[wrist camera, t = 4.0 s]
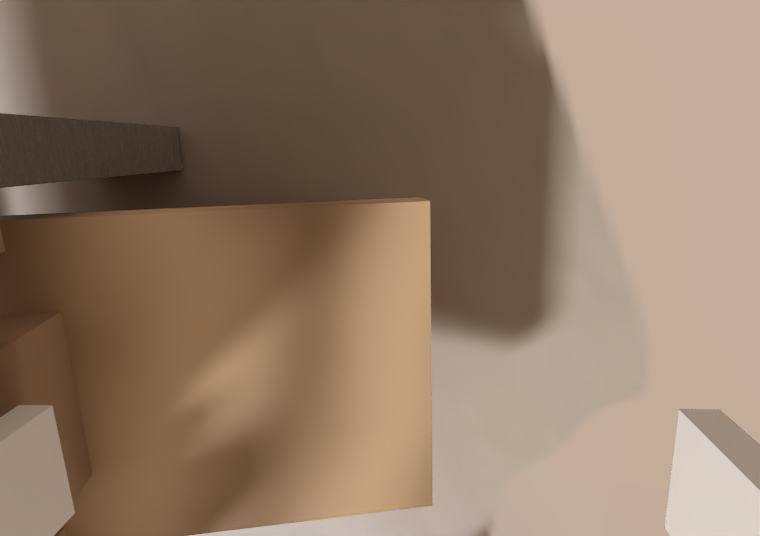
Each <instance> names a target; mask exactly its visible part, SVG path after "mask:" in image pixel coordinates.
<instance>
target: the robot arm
mask: <svg viewBox="0 0 760 536" xmlns="http://www.w3.org/2000/svg"><path fill="white" fill-rule="evenodd" d="M74 514H75V510H74V505H73V501H72V496H71V491H70V486H69V482H68V477H67V472H66V468H65V463H64V458H63V453H62V449H61V444H60V439H59V435H58V430H57V425H56V420H55V416H54V411H53V406H52V405H18V406H17V407H15V408H14V409H12V410H11V411H9V412H8V413H6V414H5V415H3V416H2V417H0V536H54V535H55V534H56V533H57V532H58V531H59V530H60V529H61V527H62V526H63V525H64V524H65V523H66V522H67V521H68V520H69V519H70V518H71V517H72V516H73V515H74ZM665 529H666V531H667V532H668V534H669V535H670V536H760V444H758V443H757V442H756V441H755V440H754V439H752V437H750V436H749V435H748V434H747V433H745V431H744V430H742V429H741V428H740V427H739V426H738V425H737V424H735V423H734V422H733V421H732V420H731V419H730V418H729V417H727V416H726V415H725V414H724V413H723V412H722V411H720V410H689V409H688V410H685V409H684V410H682V409H679V412H678V420H677V429H676V437H675V445H674V453H673V462H672V469H671V478H670V486H669V494H668V502H667V510H666V519H665Z"/></svg>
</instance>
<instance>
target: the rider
mask: <svg viewBox="0 0 760 536" xmlns="http://www.w3.org/2000/svg"><path fill="white" fill-rule="evenodd" d="M18 405H52V406H53V411H54V416H55V420H56V425H57V430H58V435H59V439H60V444H61V449H62V453H63V458H64V463H65V468H66V472H67V477H68V482H69V486H70V491H71V496H72V501H73V502H74V500H75V499H76V497H77V496H78V495H79V493H80V492H81V490H82V489H83V487H84V486H85V484H86V483H87V481H88V480H89V478H90V477H91V475H92V469H91V464H90V459H89V454H88V449H87V444H86V438H85V433H84V428H83V423H82V418H81V413H80V407H79V402H78V397H77V392H76V387H75V382H74V376H73V371H72V366H71V361H70V356H69V351H68V346H67V340H66V335H65V330H64V325H63V320H62V315H61V312H46V313H32V314H17V315H2V316H0V417H2V416H3V415H5V414H6V413H8V412H9V411H11V410H12V409H14V408H15V407H17V406H18Z"/></svg>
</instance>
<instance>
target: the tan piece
mask: <svg viewBox="0 0 760 536" xmlns="http://www.w3.org/2000/svg"><path fill="white" fill-rule="evenodd" d="M46 312H61V315H62V320H63V325H64V330H65V335H66V340H67V346H68V351H69V356H70V361H71V366H72V371H73V376H74V382H75V387H76V392H77V397H78V402H79V407H80V413H81V418H82V423H83V428H84V433H85V438H86V444H87V449H88V454H89V459H90V464H91V469H92V475H91V477H90V478H89V480H88V481H87V483H86V484H85V486H84V487H83V489H82V490H81V492H80V493H79V495H78V496H77V497H76V499H75V500H74V502H73V505H74V510H75V514H74V515H73V516H72V517H71V518H70V519H69V520H68V521H67V522H66V523H65V524H64V525H63V526H62V527H61V529H60V530H59V531H58V532H57V533H56V534H55V535H54V536H186V535H195V534H203V533H211V532H219V531H227V530H236V529H244V528H252V527H260V526H268V525H277V524H285V523H293V522H301V521H310V520H318V519H326V518H334V517H342V516H351V515H359V514H367V513H375V512H383V511H392V510H400V509H408V508H416V507H424V506H432V384H431V238H430V201H429V200H427V199H424V198H422V197H413V198H391V199H369V200H346V201H324V202H301V203H279V204H256V205H234V206H212V207H189V208H167V209H144V210H122V211H99V212H77V213H55V214H32V215H10V216H0V316H2V315H17V314H32V313H46Z"/></svg>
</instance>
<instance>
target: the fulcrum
mask: <svg viewBox="0 0 760 536" xmlns="http://www.w3.org/2000/svg"><path fill="white" fill-rule="evenodd" d="M177 170H183V165H182V157H181V149H180V141H179V133H178V128H176V127H164V126H152V125H139V124H127V123H114V122H102V121H89V120H77V119H64V118H52V117H40V116H27V115H15V114H2V113H0V188H4V187H14V186H24V185H34V184H44V183H55V182H65V181H75V180H85V179H96V178H106V177H116V176H126V175H136V174H147V173H157V172H167V171H177Z"/></svg>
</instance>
